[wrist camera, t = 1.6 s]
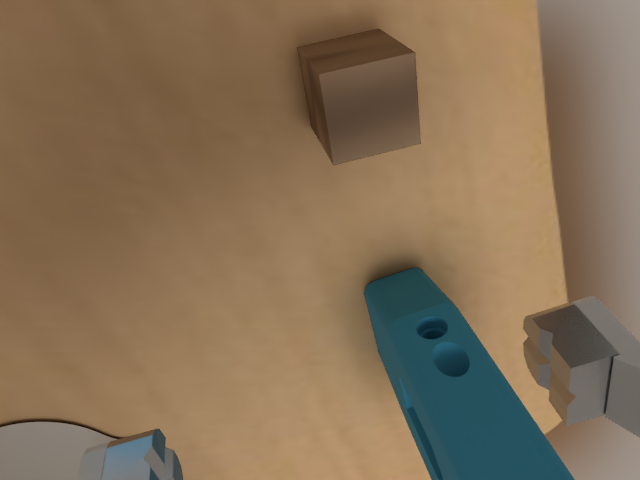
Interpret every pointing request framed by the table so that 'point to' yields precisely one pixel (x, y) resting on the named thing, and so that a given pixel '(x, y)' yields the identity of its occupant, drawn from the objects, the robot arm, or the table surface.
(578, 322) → the robot arm
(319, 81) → the walnut block
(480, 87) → the table surface
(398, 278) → the block
